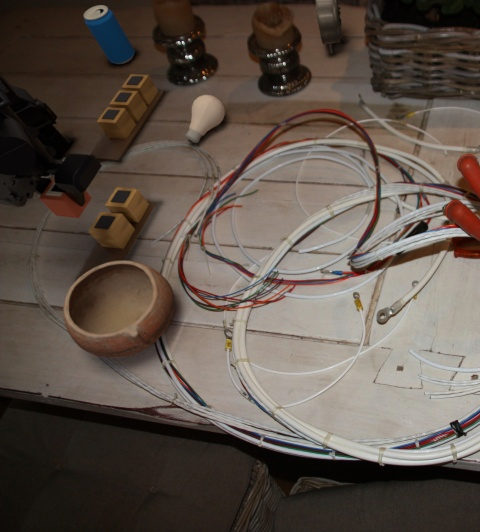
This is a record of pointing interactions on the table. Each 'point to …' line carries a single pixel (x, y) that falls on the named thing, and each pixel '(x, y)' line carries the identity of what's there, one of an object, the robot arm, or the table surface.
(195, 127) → the light bulb
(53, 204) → the letter S
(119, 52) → the beverage can
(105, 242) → the wooden block tray
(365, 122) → the table surface
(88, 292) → the bowl
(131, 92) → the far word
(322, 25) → the alarm clock
